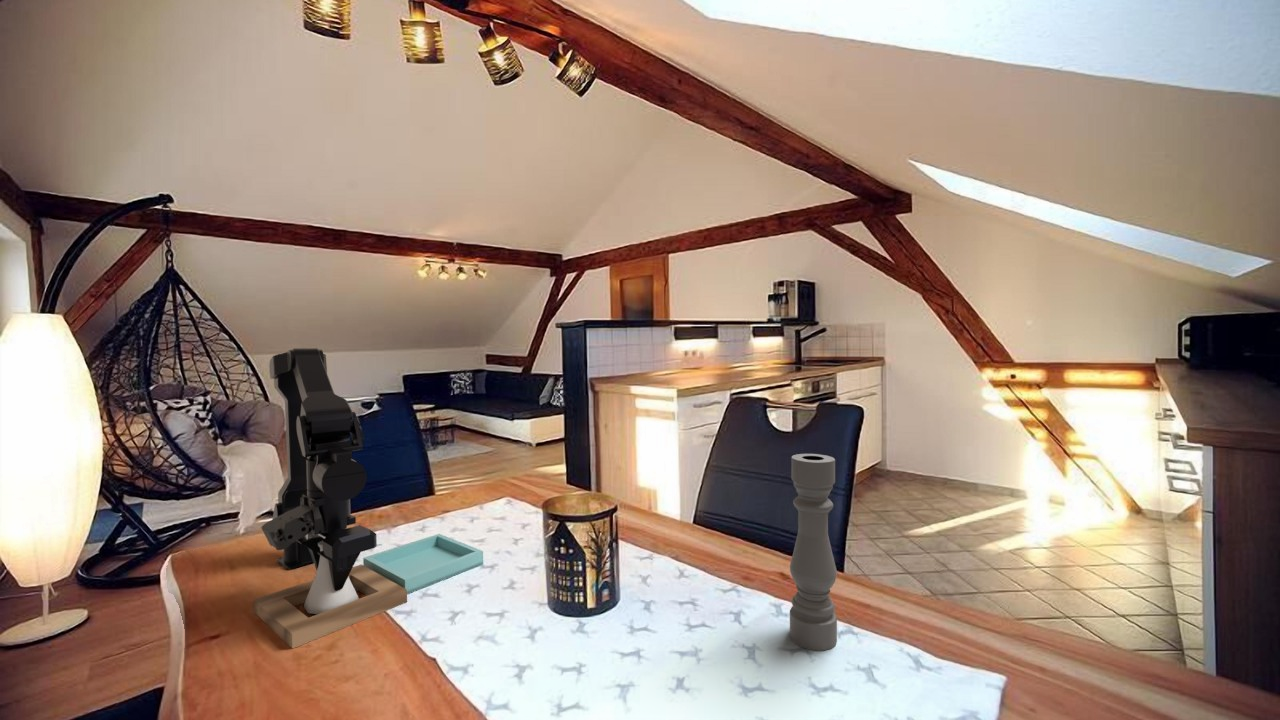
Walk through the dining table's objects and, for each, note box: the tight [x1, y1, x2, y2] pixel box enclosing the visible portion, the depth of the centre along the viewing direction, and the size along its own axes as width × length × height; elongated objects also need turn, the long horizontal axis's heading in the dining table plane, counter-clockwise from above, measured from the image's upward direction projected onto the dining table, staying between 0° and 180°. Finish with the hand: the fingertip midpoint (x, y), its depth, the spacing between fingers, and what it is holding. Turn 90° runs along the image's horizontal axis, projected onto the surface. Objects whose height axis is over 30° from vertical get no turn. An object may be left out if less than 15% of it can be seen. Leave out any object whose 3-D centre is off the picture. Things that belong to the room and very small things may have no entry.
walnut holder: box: [253, 564, 408, 649], centre depth 81 cm, size 16×16×2 cm
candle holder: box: [789, 453, 838, 652], centre depth 71 cm, size 6×6×25 cm
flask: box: [303, 541, 360, 615], centre depth 81 cm, size 7×7×10 cm
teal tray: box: [362, 533, 484, 595], centre depth 95 cm, size 15×15×2 cm
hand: (331, 585), depth 81 cm, fingers closed on flask, 5 cm apart
